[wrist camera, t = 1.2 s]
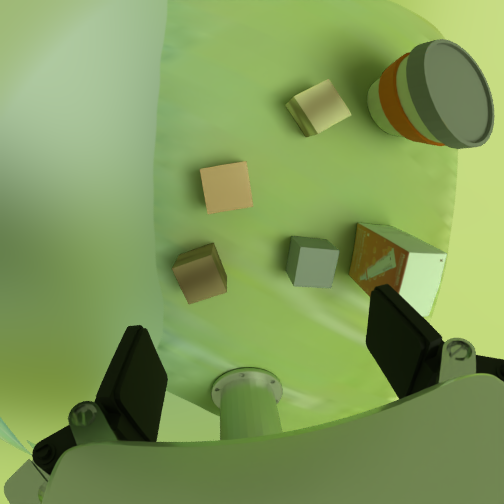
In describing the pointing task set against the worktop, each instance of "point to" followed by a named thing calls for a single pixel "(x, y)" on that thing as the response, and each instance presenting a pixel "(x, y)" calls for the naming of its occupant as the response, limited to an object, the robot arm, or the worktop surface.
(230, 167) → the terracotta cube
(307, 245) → the slate grey cube
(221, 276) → the walnut cube
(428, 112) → the reusable coffee cup
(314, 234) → the worktop surface
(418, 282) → the small box
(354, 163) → the worktop surface
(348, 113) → the pale oak cube
